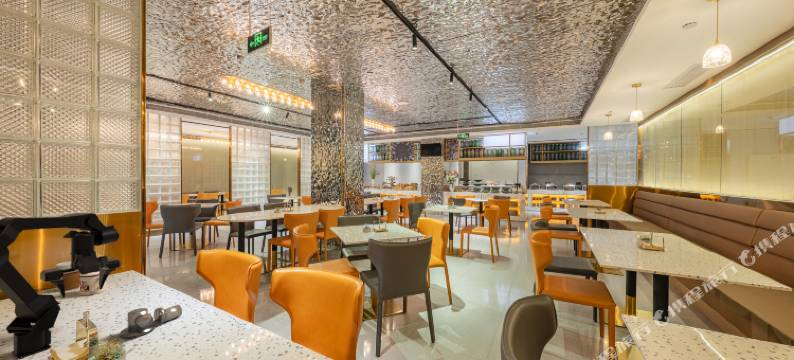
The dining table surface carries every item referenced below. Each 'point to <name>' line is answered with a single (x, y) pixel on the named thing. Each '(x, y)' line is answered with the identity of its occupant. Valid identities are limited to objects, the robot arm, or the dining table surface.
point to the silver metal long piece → (155, 321)
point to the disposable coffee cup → (69, 277)
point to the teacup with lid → (90, 284)
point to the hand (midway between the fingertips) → (82, 293)
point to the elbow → (139, 320)
